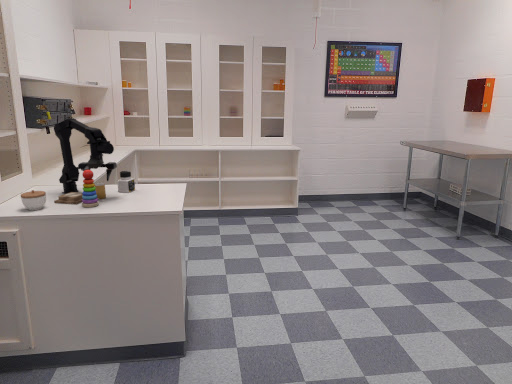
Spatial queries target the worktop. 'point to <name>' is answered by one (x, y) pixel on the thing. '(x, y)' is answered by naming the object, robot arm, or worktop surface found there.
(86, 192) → the stacking toy
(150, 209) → the worktop surface
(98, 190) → the amber jar
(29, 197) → the lidded jar
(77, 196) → the walnut plinth
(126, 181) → the medicine bottle
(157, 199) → the worktop surface
